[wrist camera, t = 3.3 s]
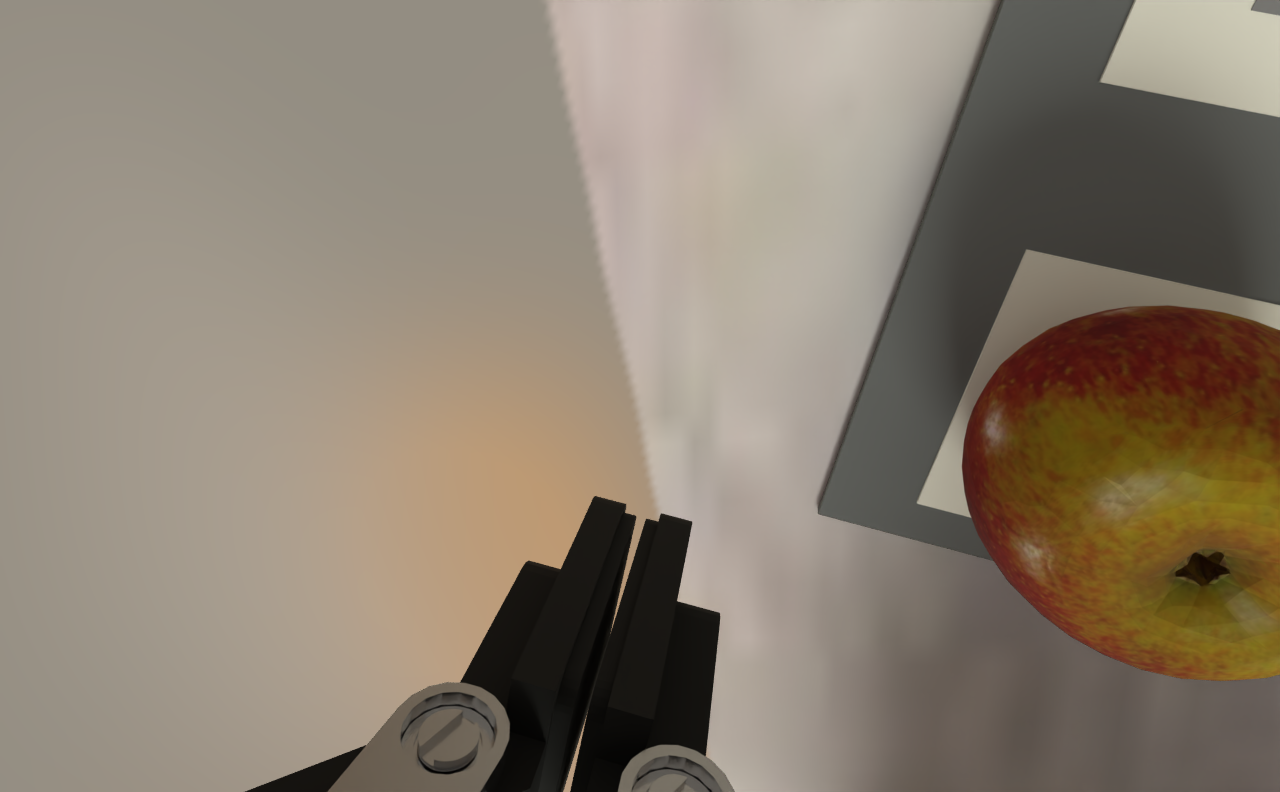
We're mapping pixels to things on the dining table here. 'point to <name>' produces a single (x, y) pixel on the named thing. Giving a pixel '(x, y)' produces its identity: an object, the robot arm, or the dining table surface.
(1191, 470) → the fruit
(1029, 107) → the label mat
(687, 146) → the dining table surface
